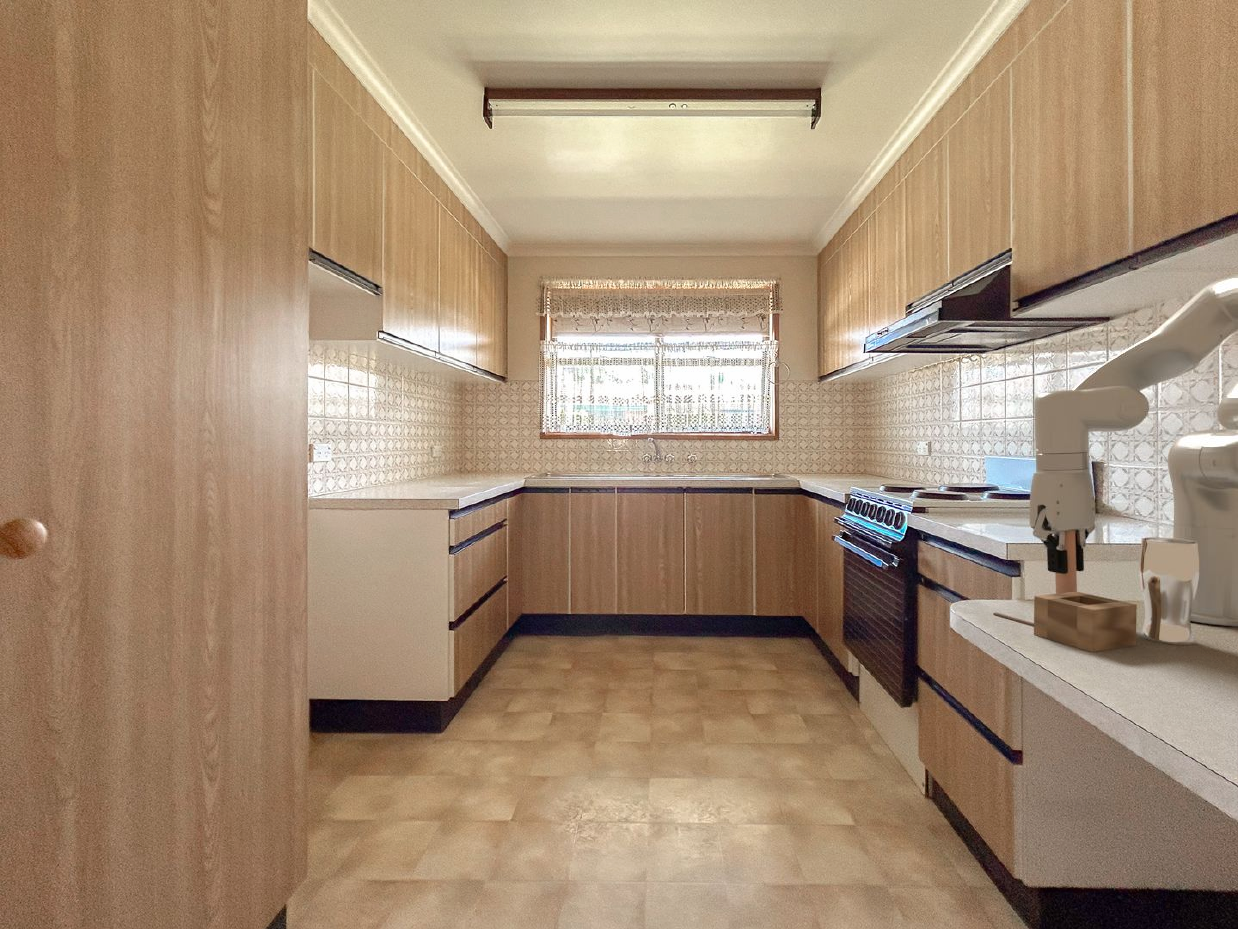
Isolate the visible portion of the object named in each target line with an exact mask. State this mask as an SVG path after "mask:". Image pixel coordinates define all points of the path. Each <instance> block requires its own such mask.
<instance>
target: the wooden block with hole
mask: <svg viewBox="0 0 1238 929" xmlns="http://www.w3.org/2000/svg"><path fill="white" fill-rule="evenodd" d="M1033 598H1034V600H1033V601H1034V603H1033V604H1034V606H1033V610H1034V611H1033V612H1034V614H1033V623H1034V626H1033V635H1035V636H1038V637H1040V638H1043V639H1048V640H1051V641H1054V642H1057V643H1061V644H1064V645H1068V646H1071V647H1073V648H1078V649H1081V650H1083V651H1087V652H1092V653H1094V652H1099V651H1106V650H1114V649H1120V648H1121V649H1122V648H1128V647H1133V646H1136V645H1137V615H1138V613H1137V612H1138V611H1137V610H1138V608H1137V606H1138V605H1137V604H1135V603H1131V602H1126V601H1123V600H1122V601H1121V600H1117V599H1112V598H1108V597H1102V596H1099V595H1094V594H1091V593H1090V594H1089V593H1086V592H1085V593H1084V592H1079V591H1077V592H1068V593H1059V594H1056V593H1051V594H1042V595H1034V597H1033Z"/></svg>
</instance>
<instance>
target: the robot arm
mask: <svg viewBox="0 0 1238 929" xmlns="http://www.w3.org/2000/svg"><path fill="white" fill-rule="evenodd" d="M1237 333H1238V273H1236V274H1232V275H1228V276H1225V277H1223V278H1222V277H1221V278H1219V279H1217V280H1215V281H1213V282H1211V283H1208V285H1206V286H1205V287H1204V288H1202V289H1201V290H1200V291H1199V292H1197V293H1196V294H1195V295H1194V296H1193V297H1192V298H1191V299H1189V301H1188V302H1186V303H1185V304H1184V305H1182V307H1181V308H1180V309H1178V310H1177V311H1176V312H1174V314H1172V315H1171V316H1170V317H1169V318H1168V319H1167V320H1166V321H1165V322H1164V323H1162V324H1161V325H1160V326H1159V327H1158V328H1157V329H1155V330H1154V331H1153V332H1152V333H1151V334H1150V335H1147V337H1145V338H1144V339H1142V340H1140V341H1138V342H1137V343H1135V344H1134V345H1132V346H1130V347H1128V348H1127V349H1125V350H1124V351H1123V352H1121V353H1119V354H1118V355H1116V356H1115V357H1112V358H1111V359H1110V360H1108V361H1106V362H1105V363H1104V364H1102V365H1100V366H1099V367H1098V368H1096V369H1095V370H1094V371H1092V372H1091V373H1089V375H1087V376H1086V377H1085V378H1084V379H1082V380H1081V381H1080V382H1079V383H1078V384H1077V385H1076V386H1075V387H1074V388H1073V389H1066V390H1052V391H1045V392H1041V393H1038V394H1037V395H1036V396H1035V398H1034V401H1033V403H1034V404H1033V405H1034V406H1033V410H1034V416H1033V417H1034V442H1035V443H1034V444H1035V467H1036V469H1035V470H1036V471H1035V472H1034V473H1033V474H1032V479H1031V483H1030V484H1031V486H1030V495H1029V525H1030V527H1031V529H1032V530H1033V531H1032V536H1034V537H1035V538H1037V539H1039V540H1040V541H1041V542H1042V544H1043V547H1044V548H1045V549H1046V554H1047V556H1046V557H1047V560H1046V561H1047V571H1048V572H1050V573H1061V574H1067V573H1068V557H1067V550H1063V549H1064V541H1065V531H1073V530H1075V542H1076V572H1084V570H1085V563H1084V562H1085V560H1084V556H1085V555H1084V554H1085V553H1084V548H1085V547H1086V545H1087V541H1086V540H1087V539H1088V537H1089V535H1090V534H1091V533H1092V532H1093V531H1095V530H1096V525H1095V522H1096V502H1095V500H1096V499H1095V491H1094V487H1093V486H1094V484H1093V481H1092V476H1091V471H1090V470H1091V469H1090V443H1089V442H1090V441H1089V439H1090V438H1089V437H1090V436H1089V433H1093V432H1105V433H1106V432H1107V433H1108V432H1110V433H1111V432H1122V431H1127V430H1131V429H1133V428H1136V427H1137V426H1139V425H1140V424H1142V423H1143V421H1145V419H1146V418H1147V417H1148V415H1149V413H1150V403H1149V399H1148V398H1147V397H1146V395H1145V394H1144V393H1143V392H1142V391H1143V390H1145V389H1147V388H1149V387H1152V386H1154V385H1158V384H1160V383H1164V382H1166V381H1168V380H1171V379H1174V378H1177V377H1180V376H1182V375H1184V374H1187V373H1188V372H1191V371H1192V370H1195V369H1196V368H1197V367H1199V366H1200V365H1201V364H1203V363H1204V362H1205V361H1206V360H1207V359H1208V358H1209V357H1211V356H1212V355H1213V353H1215V352H1216V351H1217V350H1218V349H1219V348H1220V347H1222V346H1223V345H1224V344H1226V342H1227V341H1229V340H1230V339H1231V338H1232V337H1234V336H1235V335H1236V334H1237ZM1216 417H1217V421H1218V422H1219V424H1220V426H1222V427H1223V428H1224V429H1206V430H1205V429H1204V430H1197V431H1193V432H1190V433H1187V434H1184V435H1183V436H1181V437H1179V438H1178V439H1176V440H1175V441H1174V443H1173V444H1172V446H1171V448H1170V449H1169V452H1168V454H1167V455H1168V456H1167V468H1168V474H1169V477H1170V482H1171V487H1172V494H1173V532H1172V533H1173V534H1172V538H1176V539H1185V540H1191V541H1196V542H1198V552H1199V581H1198V587H1197V591H1196V595H1195V599H1194V603H1193V607H1192V611H1191V622H1194V623H1199V624H1208V625H1214V626H1215V625H1216V626H1226V627H1227V626H1228V627H1238V380H1237V381H1236V382H1235V383H1234V385H1233V386H1231V388H1230V389H1229V390H1228V391H1227V392H1226V394H1225V395H1224V396H1223V398H1222V399H1221V401H1220V402H1219V404H1218V407H1217V411H1216ZM1054 534H1055V535H1057V538H1055V537H1054Z"/></svg>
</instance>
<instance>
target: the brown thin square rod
mask: <svg viewBox="0 0 1238 929" xmlns="http://www.w3.org/2000/svg"><path fill="white" fill-rule="evenodd" d="M992 614H993V616H996V617H1000V618H1003V619H1007V620H1010V619H1011V621H1014V620H1015V621H1014V622H1017V621H1018V623H1021V624H1024V625H1028V626H1031V627H1034V622H1031V621H1028V620H1025V619H1022V618H1021V619H1020V618H1017V617H1013V616H1011V615H1007V614H1002V613H999V612H993V613H992Z"/></svg>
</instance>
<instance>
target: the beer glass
mask: <svg viewBox="0 0 1238 929" xmlns="http://www.w3.org/2000/svg"><path fill="white" fill-rule="evenodd" d="M1138 559H1139V560H1138V569H1139V570H1138V575H1139V581H1140V588H1141V593H1142V594H1141V595H1142V598H1143V603H1144V604H1143V605H1144V620H1143V624H1142V628H1141V632H1140V633H1141V634H1140V635H1141V637H1143V638H1144V639H1145V640H1149V641H1151V642H1156V643H1161V644H1166V645H1173V646H1174V645H1175V646H1190V645H1193V644H1194V634H1193V630H1192V624H1191V622H1192V621H1191V611H1192V607H1193V603H1194V599H1195V595H1196V591H1197V587H1198V581H1199V552H1198V542H1196V541H1191V540H1185V539H1176V538H1173V537H1172V538H1171V537H1157V536H1156V537H1154V536H1153V537H1141V544H1140V551H1139V558H1138Z"/></svg>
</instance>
